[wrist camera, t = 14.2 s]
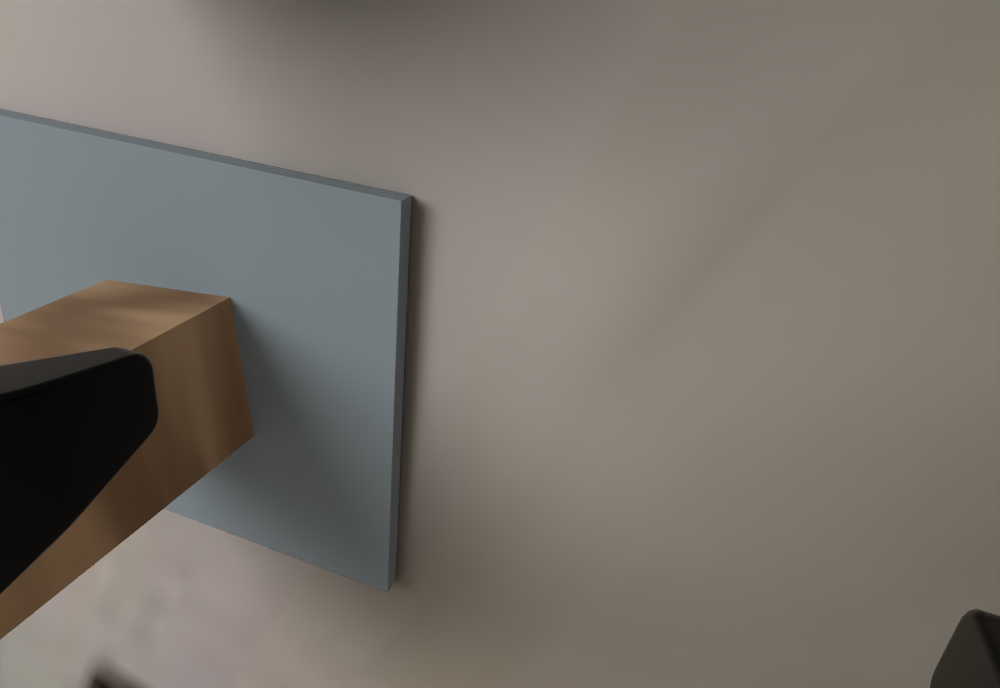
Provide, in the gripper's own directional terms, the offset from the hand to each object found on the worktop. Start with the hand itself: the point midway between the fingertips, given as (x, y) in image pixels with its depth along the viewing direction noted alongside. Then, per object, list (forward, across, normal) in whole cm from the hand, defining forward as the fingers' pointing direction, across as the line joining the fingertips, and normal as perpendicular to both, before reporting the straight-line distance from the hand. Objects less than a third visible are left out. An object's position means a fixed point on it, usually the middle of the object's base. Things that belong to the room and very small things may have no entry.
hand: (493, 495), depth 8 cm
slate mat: (+12, +15, +8) cm, 21 cm away
